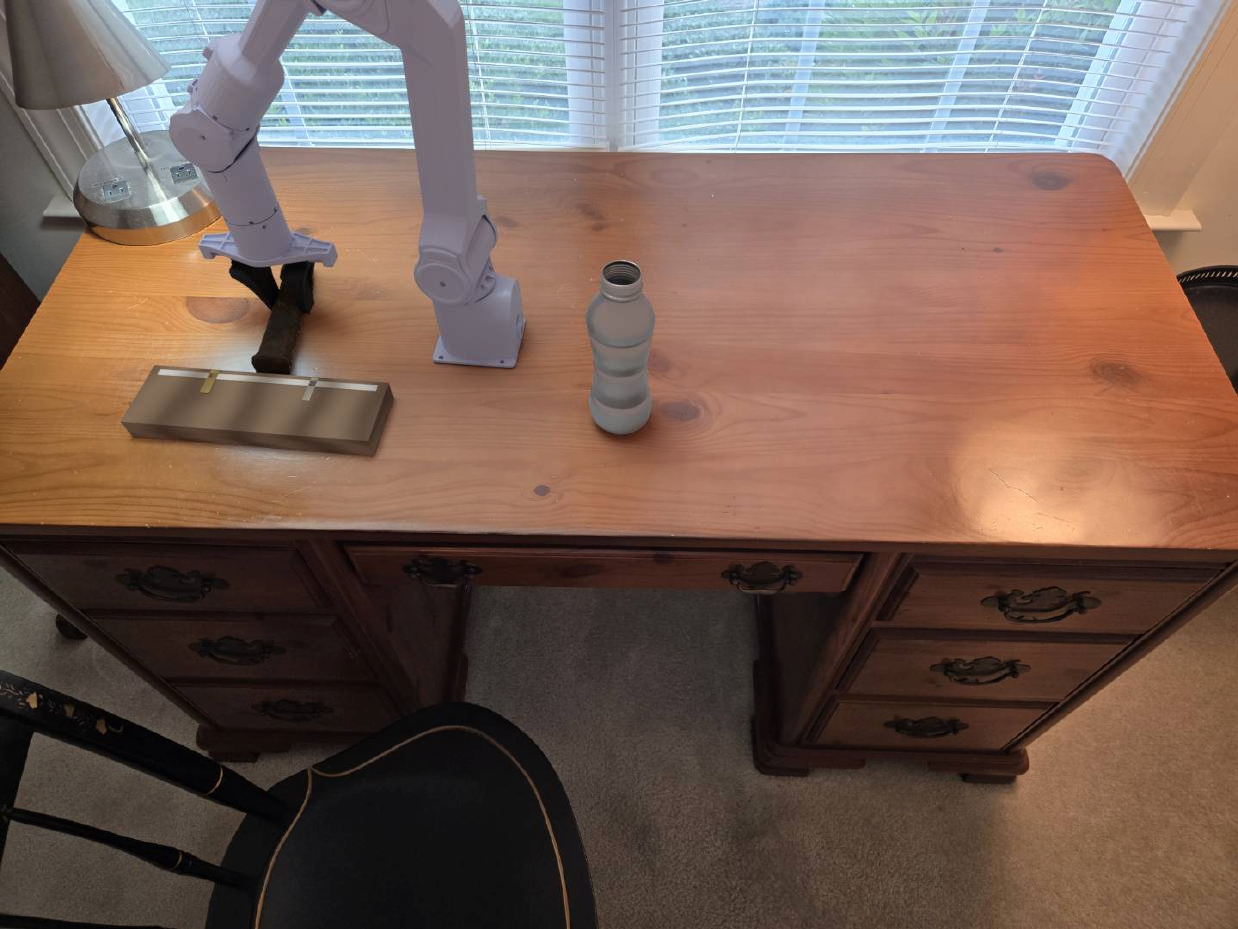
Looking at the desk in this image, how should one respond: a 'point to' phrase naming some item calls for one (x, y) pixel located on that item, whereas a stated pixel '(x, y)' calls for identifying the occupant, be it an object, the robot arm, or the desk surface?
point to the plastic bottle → (620, 349)
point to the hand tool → (279, 335)
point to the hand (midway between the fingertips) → (293, 307)
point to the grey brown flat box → (260, 410)
